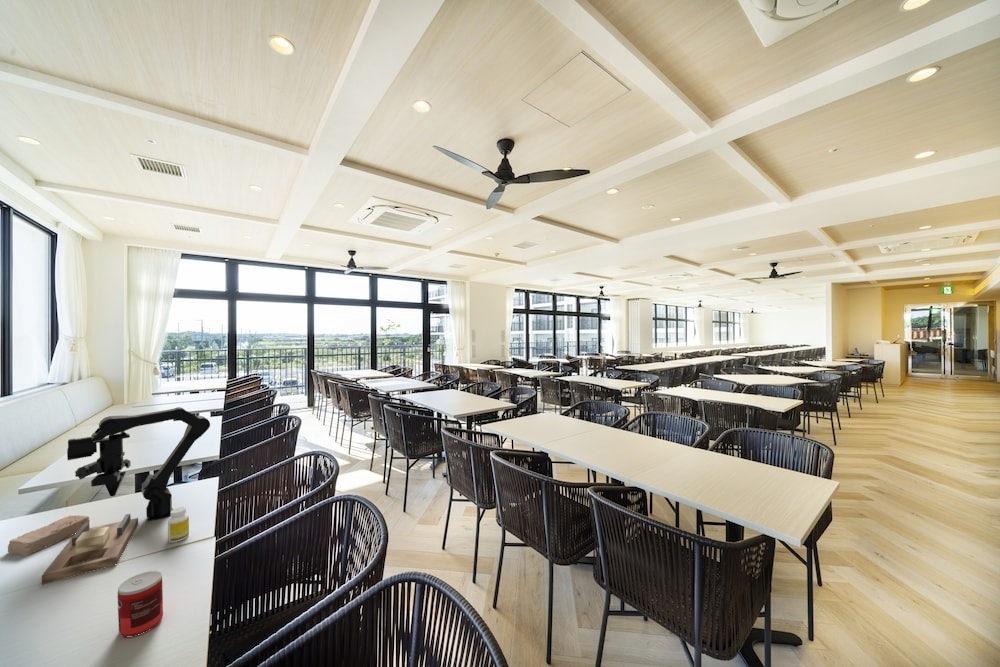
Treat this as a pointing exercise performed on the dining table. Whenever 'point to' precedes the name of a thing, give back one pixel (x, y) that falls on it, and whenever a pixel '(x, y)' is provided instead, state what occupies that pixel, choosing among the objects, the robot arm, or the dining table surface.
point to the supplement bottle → (178, 525)
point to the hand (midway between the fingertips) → (112, 495)
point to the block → (92, 540)
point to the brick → (46, 535)
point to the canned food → (140, 603)
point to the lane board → (109, 552)
